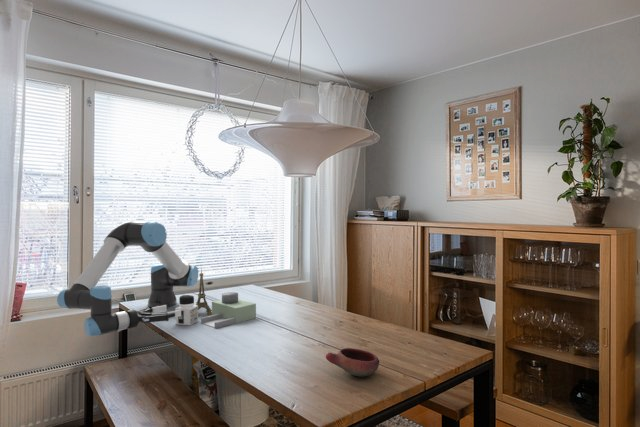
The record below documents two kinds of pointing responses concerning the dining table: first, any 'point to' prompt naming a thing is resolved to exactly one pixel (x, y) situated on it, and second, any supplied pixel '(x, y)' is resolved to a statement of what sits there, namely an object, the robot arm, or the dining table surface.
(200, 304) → the eiffel tower
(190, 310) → the container
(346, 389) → the dining table surface
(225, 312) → the sage green base block
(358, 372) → the bowl
